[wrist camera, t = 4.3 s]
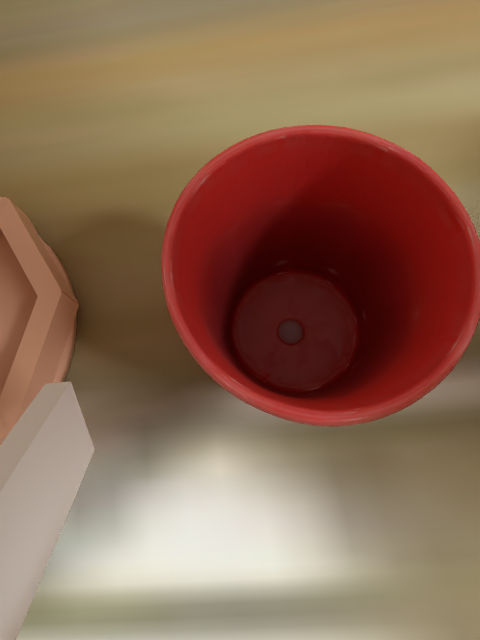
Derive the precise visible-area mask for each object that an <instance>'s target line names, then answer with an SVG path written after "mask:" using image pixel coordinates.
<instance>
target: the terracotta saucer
mask: <svg viewBox="0 0 480 640" xmlns="http://www.w3.org/2000/svg"><path fill="white" fill-rule="evenodd" d="M78 304H79V303H78V301H77V300H76V298H75V296H74V292H73V288H72V285H71V282H70V279H69V276H68V274H67V272H66V270H65V268H64V266H63V264H62V262H61V261H60V259H59V258H58V257H57V255H56V254H55V252H54V251H53V250H52V249H51V248H50V247H49V246H48V245H47V244H46V243H45V242H44V241H43V239H41V238H40V236H39V235H38V233H37V231H36V230H35V228H34V226H33V224H32V223H31V221H30V219H29V218H28V217H27V216H26V215H25V214H24V213H23V212H22V211H21V210H20V209H19V208H18V207H17V206H16V205H15V204H14V203H13V202H12V201H11V200H10V199H9V198H8V197H1V196H0V445H1V443H2V442H3V441H4V439H5V438H6V437H7V435H8V434H9V432H10V431H11V430H12V428H13V427H14V426H15V424H16V423H17V422H18V420H19V419H20V417H21V416H22V415H23V413H24V412H25V411H26V409H27V408H28V407H29V405H30V404H31V402H32V401H33V400H34V398H35V397H36V396H37V394H38V393H39V392H40V390H41V389H42V387H43V386H44V385H45V384H48V383H59V382H64V380H65V378H66V375H67V373H68V370H69V367H70V363H71V360H72V356H73V352H74V347H75V340H76V332H77V310H78V307H79V305H78Z"/></svg>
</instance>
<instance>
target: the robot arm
mask: <svg viewBox="0 0 480 640" xmlns="http://www.w3.org/2000/svg"><path fill="white" fill-rule="evenodd" d="M94 451H95V448H94V445H93V442H92V440H91V437H90V434H89V431H88V428H87V426H86V423H85V420H84V417H83V414H82V412H81V409H80V406H79V403H78V400H77V398H76V395H75V392H74V389H73V386H72V384H71V381H69V382H59V383H48V384H45V385H44V386H43V387H42V389H41V390H40V392H39V393H38V394H37V396H36V397H35V398H34V400H33V401H32V402H31V404H30V405H29V407H28V408H27V409H26V411H25V412H24V413H23V415H22V416H21V417H20V419H19V420H18V422H17V423H16V424H15V426H14V427H13V428H12V430H11V431H10V432H9V434H8V435H7V437H6V438H5V439H4V441H3V442H2V443H1V445H0V640H16V638H17V636H18V633H19V631H20V628H21V626H22V624H23V621H24V619H25V616H26V614H27V612H28V609H29V607H30V604H31V602H32V600H33V597H34V595H35V592H36V590H37V588H38V585H39V583H40V580H41V578H42V576H43V573H44V571H45V568H46V566H47V564H48V561H49V559H50V556H51V554H52V552H53V549H54V547H55V544H56V542H57V540H58V537H59V535H60V532H61V530H62V528H63V525H64V523H65V520H66V518H67V516H68V513H69V511H70V508H71V506H72V504H73V501H74V499H75V496H76V494H77V492H78V489H79V487H80V485H81V482H82V480H83V477H84V475H85V473H86V470H87V468H88V465H89V463H90V461H91V458H92V456H93V453H94Z"/></svg>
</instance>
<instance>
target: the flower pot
mask: <svg viewBox="0 0 480 640" xmlns="http://www.w3.org/2000/svg"><path fill="white" fill-rule="evenodd" d="M161 272H162V284H163V290H164V296H165V300H166V304H167V307H168V311H169V314H170V316H171V319H172V321H173V324H174V326H175V328H176V330H177V332H178V334H179V336H180V338H181V339H182V341H183V343H184V344H185V346H186V348H187V349H188V351H189V352H190V354H191V355H192V356H193V358H194V359H195V360H196V361H197V363H198V364H199V365H200V366H201V367H202V369H203V370H204V371H205V372H206V373H207V374H208V375H209V376H210V377H211V378H212V379H213V380H215V381H216V382H217V383H218V384H219V385H220V386H222V387H223V388H224V389H225V390H227V391H228V392H229V393H231V394H232V395H234V396H235V397H237V398H238V399H240V400H242V401H244V402H245V403H247V404H249V405H251V406H253V407H255V408H258V409H260V410H262V411H264V412H266V413H269V414H272V415H274V416H277V417H280V418H283V419H286V420H289V421H294V422H298V423H302V424H308V425H315V426H346V425H354V424H360V423H365V422H369V421H373V420H377V419H380V418H383V417H386V416H388V415H391V414H393V413H396V412H398V411H400V410H402V409H404V408H406V407H408V406H410V405H411V404H413V403H414V402H416V401H417V400H419V399H421V398H422V397H423V396H425V395H426V394H427V393H429V392H430V391H431V390H432V389H434V388H435V387H436V386H437V385H438V384H440V383H441V381H442V380H443V379H444V378H445V377H446V376H447V375H448V374H449V373H450V372H451V371H452V370H453V368H454V367H455V366H456V364H457V363H458V362H459V360H460V358H461V357H462V355H463V353H464V352H465V350H466V349H467V347H468V345H469V343H470V341H471V339H472V337H473V335H474V332H475V330H476V327H477V324H478V320H479V317H480V241H479V239H478V236H477V233H476V230H475V228H474V225H473V223H472V221H471V219H470V217H469V215H468V213H467V212H466V210H465V208H464V206H463V205H462V203H461V202H460V200H459V199H458V197H457V196H456V195H455V193H454V192H453V191H452V190H451V189H450V187H449V186H448V185H447V184H446V183H445V182H444V181H443V180H442V178H441V177H440V176H439V175H438V174H437V173H436V172H435V171H433V170H432V169H431V168H430V167H429V166H428V165H427V164H426V163H424V162H423V161H422V160H421V159H419V158H418V157H416V156H415V155H413V154H412V153H410V152H408V151H407V150H405V149H404V148H402V147H400V146H398V145H396V144H394V143H392V142H389V141H387V140H385V139H382V138H380V137H377V136H375V135H372V134H369V133H366V132H362V131H358V130H355V129H350V128H345V127H338V126H326V125H303V126H292V127H284V128H279V129H274V130H270V131H267V132H263V133H260V134H257V135H255V136H252V137H250V138H247V139H245V140H243V141H241V142H239V143H237V144H235V145H233V146H231V147H229V148H228V149H226V150H224V151H223V152H221V153H220V154H218V155H217V156H216V157H214V158H213V159H212V160H210V161H209V162H208V163H207V164H206V165H205V166H204V167H203V168H202V169H201V170H200V171H198V173H197V174H196V175H195V176H194V177H193V178H192V180H191V181H190V182H189V183H188V184H187V186H186V187H185V188H184V190H183V191H182V193H181V195H180V197H179V198H178V200H177V202H176V204H175V206H174V208H173V210H172V213H171V215H170V218H169V221H168V224H167V227H166V231H165V235H164V240H163V245H162V256H161Z"/></svg>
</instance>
